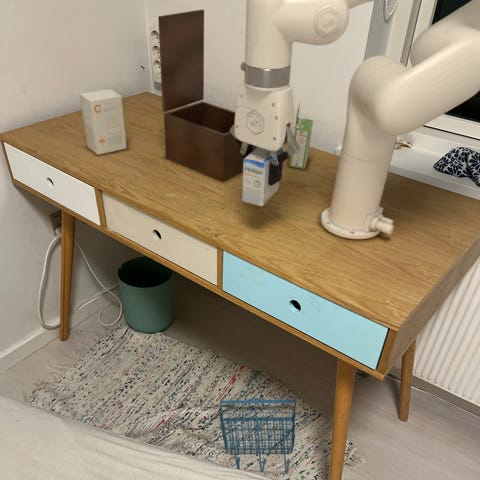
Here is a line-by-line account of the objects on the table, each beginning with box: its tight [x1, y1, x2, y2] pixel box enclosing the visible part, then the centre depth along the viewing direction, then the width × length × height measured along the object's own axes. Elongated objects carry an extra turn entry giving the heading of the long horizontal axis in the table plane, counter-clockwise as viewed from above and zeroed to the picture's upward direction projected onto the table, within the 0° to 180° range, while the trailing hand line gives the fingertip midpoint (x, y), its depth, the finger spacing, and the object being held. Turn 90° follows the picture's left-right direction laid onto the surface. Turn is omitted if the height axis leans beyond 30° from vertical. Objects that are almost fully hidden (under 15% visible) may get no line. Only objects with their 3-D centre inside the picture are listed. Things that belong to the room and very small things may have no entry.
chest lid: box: [157, 9, 205, 113], centre depth 116 cm, size 19×14×1 cm
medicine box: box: [241, 147, 280, 207], centre depth 95 cm, size 8×4×9 cm, turn 154°
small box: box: [79, 88, 127, 156], centre depth 124 cm, size 8×6×13 cm
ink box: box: [289, 103, 314, 170], centre depth 123 cm, size 7×4×13 cm, turn 168°
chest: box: [163, 100, 258, 182], centre depth 122 cm, size 19×14×11 cm
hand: (261, 177), depth 95 cm, fingers closed on medicine box, 5 cm apart
